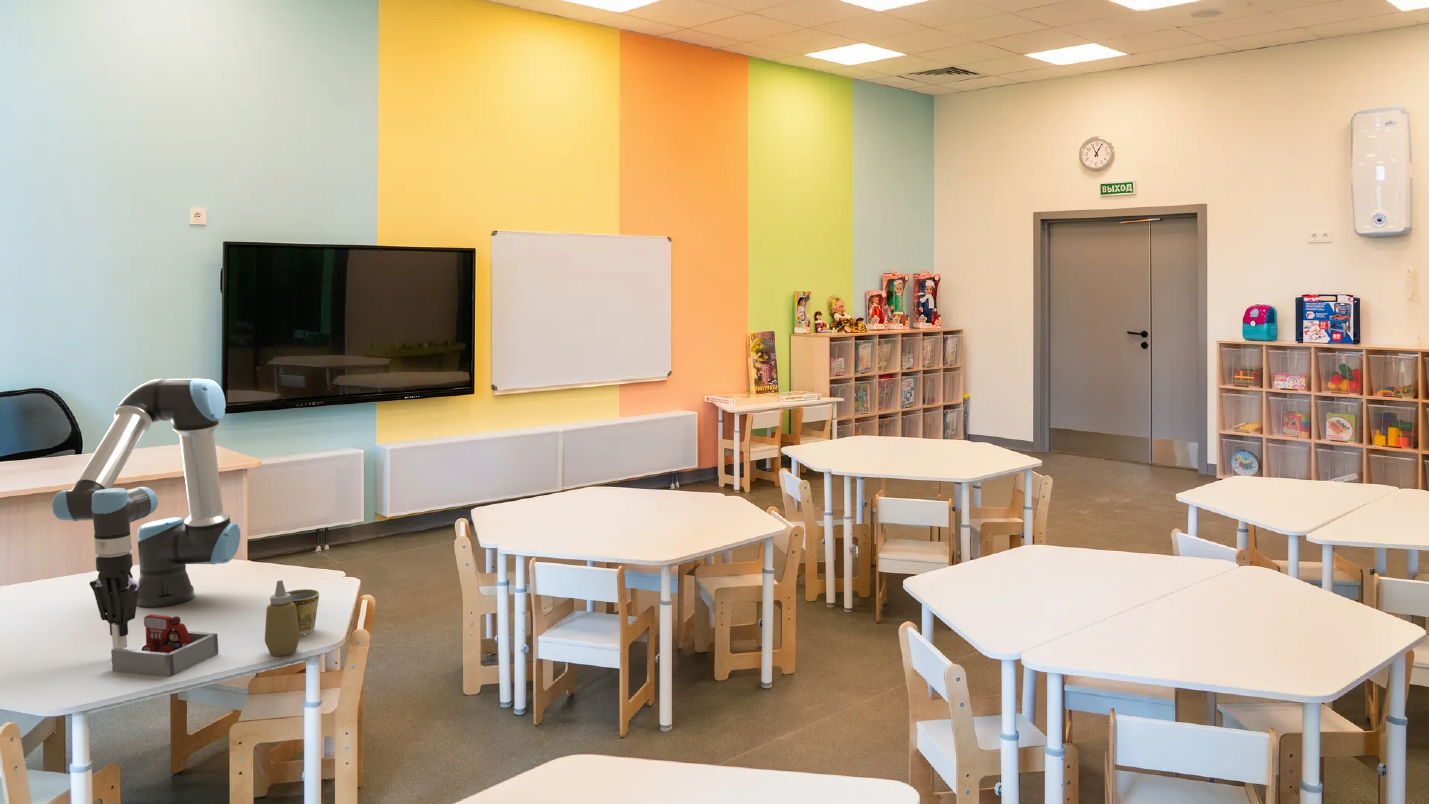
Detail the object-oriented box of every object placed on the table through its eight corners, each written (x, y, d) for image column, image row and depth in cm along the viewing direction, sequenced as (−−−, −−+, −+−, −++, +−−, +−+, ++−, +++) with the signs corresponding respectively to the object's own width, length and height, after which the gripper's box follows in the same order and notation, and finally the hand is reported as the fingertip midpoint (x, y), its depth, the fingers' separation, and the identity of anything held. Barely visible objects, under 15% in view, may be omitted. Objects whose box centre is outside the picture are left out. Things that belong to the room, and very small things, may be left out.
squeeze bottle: (288, 644, 250) (285, 574, 248) (307, 651, 245) (304, 579, 243) (258, 654, 243) (254, 582, 241) (277, 660, 239) (273, 587, 237)
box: (112, 670, 232) (111, 649, 232) (163, 648, 247) (162, 628, 247) (170, 676, 229) (169, 655, 228) (218, 653, 244) (217, 633, 243)
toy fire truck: (178, 665, 236) (175, 622, 235) (135, 660, 239) (133, 618, 238) (200, 655, 243) (198, 613, 241) (159, 650, 246) (156, 609, 245)
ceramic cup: (327, 632, 259) (325, 594, 258) (288, 641, 252) (286, 602, 251) (306, 620, 268) (304, 584, 267) (268, 629, 261) (266, 592, 260)
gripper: (77, 555, 237) (84, 651, 239) (124, 558, 234) (131, 656, 236) (103, 548, 244) (109, 641, 246) (148, 550, 241) (155, 645, 244)
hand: (120, 648), depth 241 cm, fingers closed
